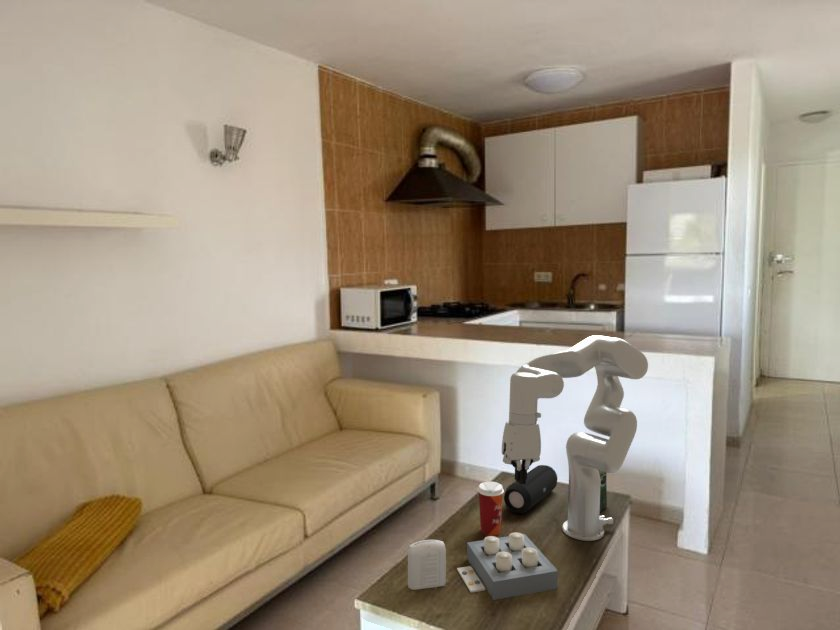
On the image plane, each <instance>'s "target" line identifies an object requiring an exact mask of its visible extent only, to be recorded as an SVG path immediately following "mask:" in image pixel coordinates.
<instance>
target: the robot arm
mask: <svg viewBox="0 0 840 630" xmlns="http://www.w3.org/2000/svg"><path fill="white" fill-rule="evenodd" d="M593 368H594V369H595V374H596V379H597V386H596V389H595V392H594V394H593V397H592V399H591V401H590V402H589V405H588V408H587V410H586V412H585V414H584V419H583V424H584V427H585V428H586V429H587V430H589V431H590V432H593V433H596V434H599V435H602V436H606V437H609V439H607V438H604V437H601V436H598V435H595V434H593V433H588V432H580V431H578V432H574V433H572V434H571V435H569V436H568V438H567V440H566V445H565V451H566V457H567V463H568V465H567V466H568V492H567V493H568V497H567V498H568V500H567V501H568V502H567V503H568V504H567V520H565V521H564V522H563V523H562V531H563V533H564V534H565V535H567V536H568V537H570V538H572V539H575V540H579V541H585V542H592V541H598V540H600V539H602V538H603V537H604V536H605V528H604V527H605V526H606V525H612V524H614V518H612V517H611V516H610V517H605V515H603V514H602V515H601V514H600V512H601V511H600V486H601V480H600V474H599V471H598V470H600V471H603V472H607V474H614V473H617V472H619V470H620V469H621V467H622V466H623V464H624V462H625V459H626V457H627V454H628V453H629V450H630V448H631V445H632V444H633V441H634V438H635V436H636V433H637V429H638V420H637V416H636V414H635V413H634V412H633V411H632V410H630V409H627V408H623V407H621V405H622V403H623V401H624V400H623V399H624V396H625V392H624V388H623V386H622V382H621V381H620V378H624V379H625V378H626V379H630V380H640V379H642V378H644V377H645V375H646V374H647V372H648V370H649V361H648V358H647V357H646V355H645V354H644V353H643V352H642V351H641V350H640V349H638V348H636V347H635V346H634V345H632V344H630V343H629V342H628V341H626V340H625V339H622V338H619V337H611V336H605V335H598V334H597V335H591V336H588V337H586V338H584V339H582V340H581V341H579V342H577V343H576V344H575V345H572V346H571V347H569V348H568V349H566V350H563V351H558V352H555V353H549V354H545V355H541V356H538V357H535V358H533V359H531V360H529V361H528V362H526V363H524V364H522V365H521V366H520V367H519V368H518V370H516V372H514V373H513V374H511V376H510V377H509V378H510V380H509V402H508V403H509V405H508V406H509V408H508V421H505V424H504V428H503V431H502V433H503V435H502V441H501V454H502V455H503V458H502V463H504V464H505V465H511V466H512V467H513V468H514V480H515V481H516V482H518V483H519V484H520V485H522V484H526V480H527V473H528V471H529V469H530V468H531V466H532V464H534V463H536V462H539V461H540V460H541V457H540V456H541V454H542V453H541V452H542V439H541V437H542V436H541V429H540V425H539V422H538V419H539V418H541V417H542V413H540V412H538V402H539V401H538V400H539V399H555V398H557V397H558V396H560V395H561V393H562V392H563V389H564V387H565V383H564V379H569V378H570V379H571V378H578V377H579V378H580V377H581V376H583V375H584V374H586V373H587V372H589V371H590V370H592V369H593Z"/></svg>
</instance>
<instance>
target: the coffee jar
mask: <svg viewBox="0 0 840 630" xmlns="http://www.w3.org/2000/svg"><path fill="white" fill-rule="evenodd" d="M598 471H599V474H600V480H601V486H600V512H601V511H602V510H604V509H605V508H606V507H607V505H608V495H607V494H608V490H607V487H608V485H607V477H608V476H607V474H608V473H607V472H603V471H600V470H598Z"/></svg>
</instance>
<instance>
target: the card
mask: <svg viewBox="0 0 840 630" xmlns="http://www.w3.org/2000/svg"><path fill="white" fill-rule="evenodd" d="M457 572H458V574H459V575H460V577H461V579H462V581H463V582H464V584H465V585H466V587H467V589H468V590H469V592H470V593H477V592H482V591H484V592H485V591H486V588H485V586H484V585H483V583H482V581H481V580H480V578H479V577H478V575H477V574H476V572H475V571H474V569H473V567H472V566H471V565H468V566H463V567H462V566H461V567H457Z"/></svg>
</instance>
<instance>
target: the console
mask: <svg viewBox="0 0 840 630" xmlns="http://www.w3.org/2000/svg"><path fill="white" fill-rule="evenodd" d="M522 534H523V535H524V548H534V549H536V550H537V551H538V567H532V568H526V569H525V568H524V566H523V565H522V551H515V552H511V550H510V549H509V535H508V536H501V537H497V538H498V539H499V552H508V553H510V554H511V555H512V571H508V572H502V573H498V571H497V570H496V555H490V556H486V554H485V553H484V539H482V540H476V541H474V540H473V541H469V542H466V559H467V561H468V563H469V564H470V566H471V567H472V569H473V570H474V572H475V573H476V575H477V576H478V578H479V580H480V581H481V583H482V584H483V586H484V587H485V590H486V591H487V592H488V594H489V595H490V597H491V598H492V600H493V601H496V600H502V599H509V598H513V597H518V596H524V595H530V594H535V593H541V592H547V591H552V590H558V588H559V587H558V581H559V580H558V579H559V577H558V576H559V570H558V569H557V568H556V567H555V566H554V565H553V563H552V562H550V560H549V559H548V558H547V556H545V555H544V553H543V552H541V550H540V549H539V548H538V547H537V546H536V545H535V543H534V542H533V541H532V540H531V539H530V538H529V537H528V536H527V535H526V534H525V533H522Z"/></svg>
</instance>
